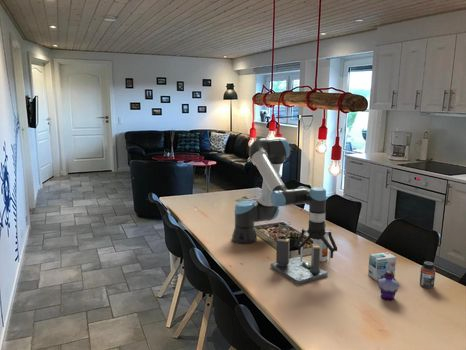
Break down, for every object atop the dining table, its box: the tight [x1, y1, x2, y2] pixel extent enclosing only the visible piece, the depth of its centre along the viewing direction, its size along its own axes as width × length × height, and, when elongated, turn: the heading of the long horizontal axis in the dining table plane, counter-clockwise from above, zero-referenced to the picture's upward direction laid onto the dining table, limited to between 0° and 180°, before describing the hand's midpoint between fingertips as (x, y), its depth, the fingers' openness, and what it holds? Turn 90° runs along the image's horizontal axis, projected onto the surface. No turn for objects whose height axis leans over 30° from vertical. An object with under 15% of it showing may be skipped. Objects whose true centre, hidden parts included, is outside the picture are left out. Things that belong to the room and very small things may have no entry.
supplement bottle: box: [419, 260, 436, 290], centre depth 176 cm, size 6×6×11 cm
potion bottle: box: [378, 270, 400, 302], centre depth 166 cm, size 9×9×12 cm
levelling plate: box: [270, 255, 328, 286], centre depth 192 cm, size 22×18×4 cm
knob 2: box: [310, 243, 320, 273], centre depth 187 cm, size 6×5×14 cm
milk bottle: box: [312, 223, 329, 263], centre depth 205 cm, size 8×8×20 cm
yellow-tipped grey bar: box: [275, 238, 291, 267], centre depth 194 cm, size 6×5×14 cm
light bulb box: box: [367, 251, 397, 281], centre depth 186 cm, size 11×7×11 cm, turn 105°
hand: (315, 262), depth 187 cm, fingers open, 13 cm apart
